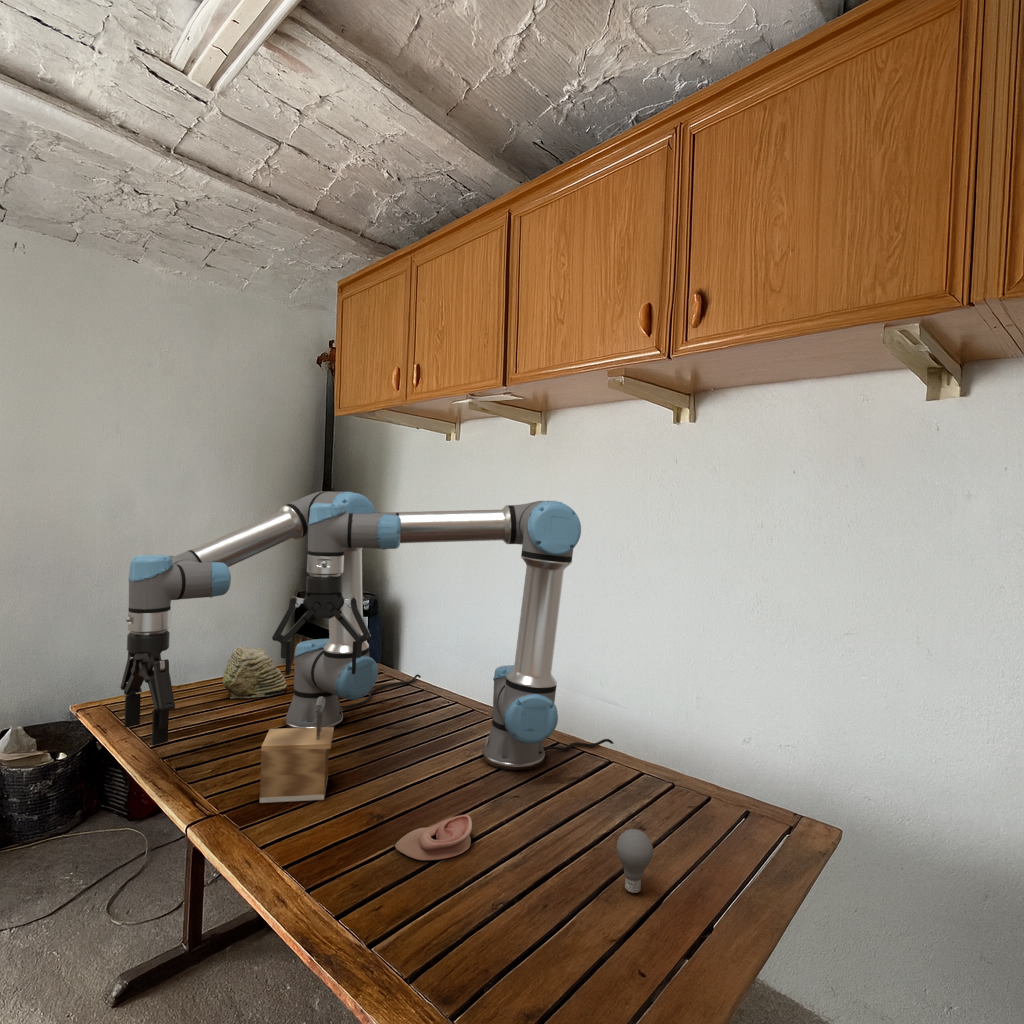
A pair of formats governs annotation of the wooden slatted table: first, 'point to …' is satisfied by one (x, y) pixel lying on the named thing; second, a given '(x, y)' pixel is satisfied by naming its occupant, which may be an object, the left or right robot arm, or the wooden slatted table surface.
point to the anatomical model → (438, 839)
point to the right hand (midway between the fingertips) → (321, 673)
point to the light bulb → (634, 857)
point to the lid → (301, 735)
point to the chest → (293, 775)
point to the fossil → (252, 674)
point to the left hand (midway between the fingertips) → (145, 734)
